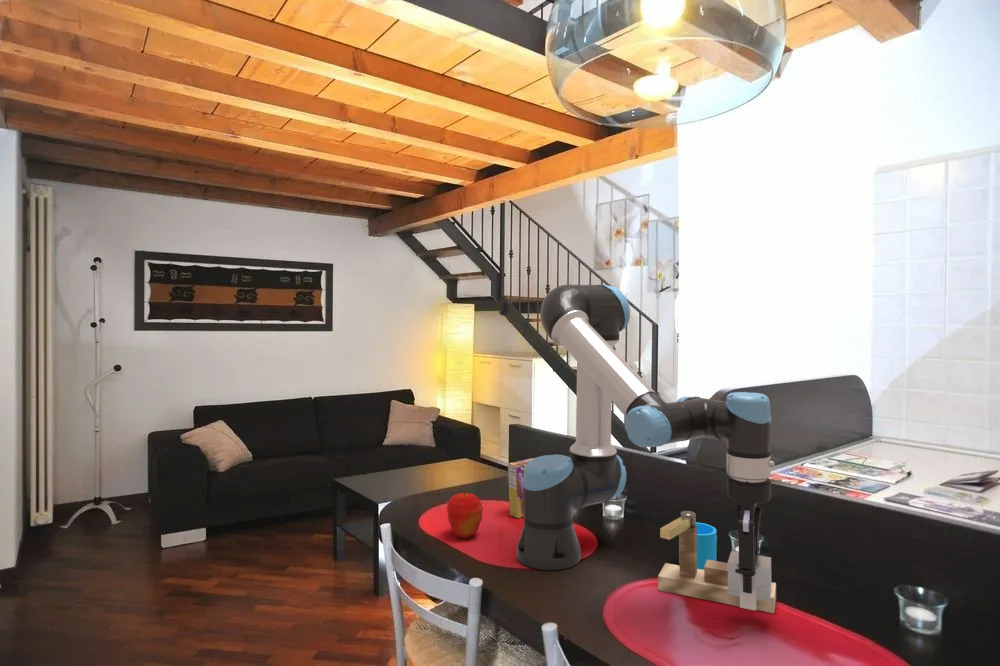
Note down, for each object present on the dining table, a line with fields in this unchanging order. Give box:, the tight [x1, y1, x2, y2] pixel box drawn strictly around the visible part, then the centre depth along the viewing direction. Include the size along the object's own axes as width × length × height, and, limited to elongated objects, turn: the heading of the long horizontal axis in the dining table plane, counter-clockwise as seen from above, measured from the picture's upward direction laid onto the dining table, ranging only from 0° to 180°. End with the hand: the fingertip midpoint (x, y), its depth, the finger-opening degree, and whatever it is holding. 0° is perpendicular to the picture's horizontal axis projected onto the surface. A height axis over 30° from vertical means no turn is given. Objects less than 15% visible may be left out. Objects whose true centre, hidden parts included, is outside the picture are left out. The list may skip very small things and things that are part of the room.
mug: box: [678, 522, 718, 570], centre depth 138 cm, size 12×8×8 cm
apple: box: [446, 492, 484, 540], centre depth 155 cm, size 9×9×12 cm
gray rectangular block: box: [727, 550, 772, 602], centre depth 110 cm, size 7×6×6 cm
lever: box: [659, 510, 697, 541], centre depth 121 cm, size 12×3×2 cm, turn 137°
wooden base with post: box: [657, 525, 777, 614], centre depth 122 cm, size 22×7×13 cm, turn 62°
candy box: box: [507, 458, 533, 519], centre depth 171 cm, size 9×4×15 cm, turn 127°
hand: (749, 600), depth 110 cm, fingers closed on gray rectangular block, 5 cm apart
